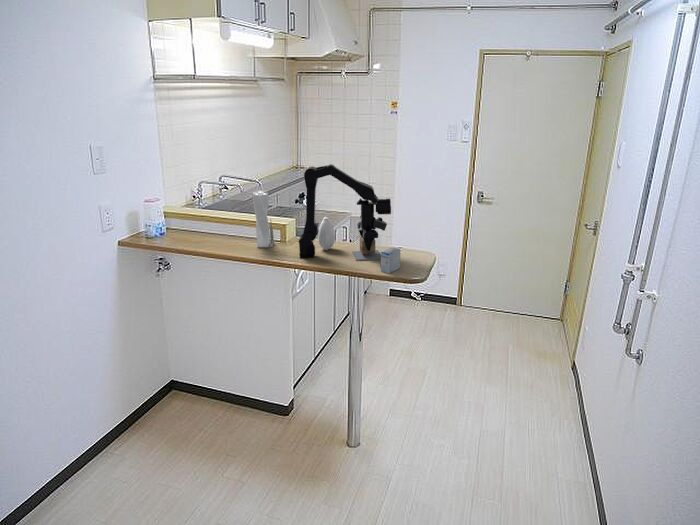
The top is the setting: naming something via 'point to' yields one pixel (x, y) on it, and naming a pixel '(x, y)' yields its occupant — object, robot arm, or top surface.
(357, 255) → the mat
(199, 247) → the top surface
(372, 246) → the cube
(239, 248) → the top surface
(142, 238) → the top surface
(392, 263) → the medicine box
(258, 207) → the skyscraper
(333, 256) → the top surface
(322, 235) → the white elongated ovoid
